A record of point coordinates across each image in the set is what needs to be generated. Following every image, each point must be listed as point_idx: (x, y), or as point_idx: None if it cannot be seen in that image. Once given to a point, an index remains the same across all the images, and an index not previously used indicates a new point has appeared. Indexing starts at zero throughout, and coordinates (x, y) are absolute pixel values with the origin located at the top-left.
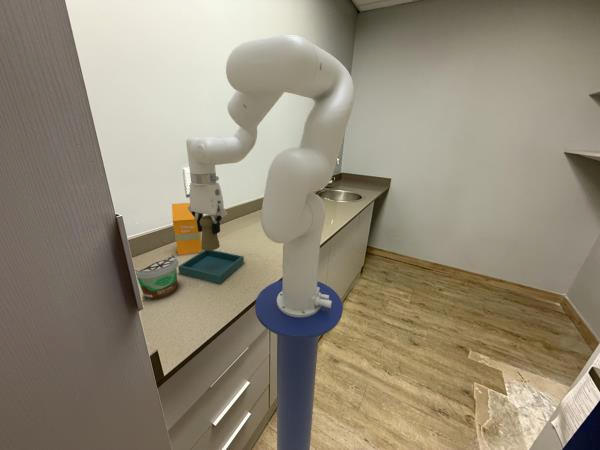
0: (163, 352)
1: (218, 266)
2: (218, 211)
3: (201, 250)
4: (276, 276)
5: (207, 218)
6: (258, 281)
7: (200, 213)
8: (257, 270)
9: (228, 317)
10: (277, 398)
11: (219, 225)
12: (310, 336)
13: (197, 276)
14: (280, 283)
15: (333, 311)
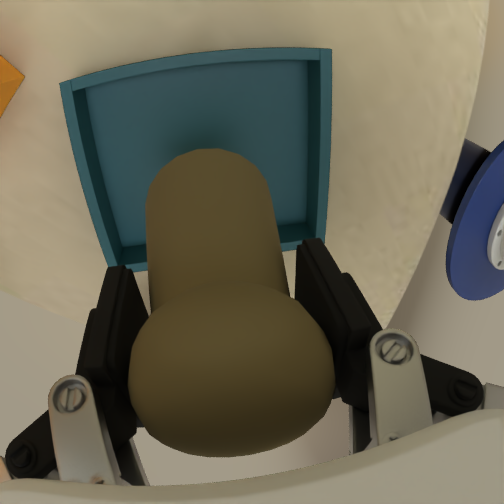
0: None
1: (224, 138)
2: (424, 439)
3: (16, 71)
4: (464, 108)
5: (275, 446)
6: (425, 156)
7: (76, 452)
8: (399, 87)
9: (394, 303)
10: None
11: (369, 313)
12: None
13: None
14: (494, 177)
15: None
